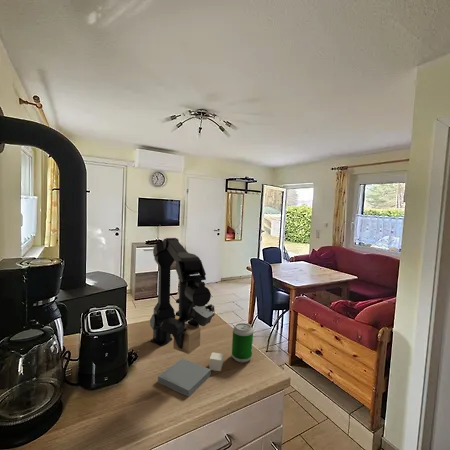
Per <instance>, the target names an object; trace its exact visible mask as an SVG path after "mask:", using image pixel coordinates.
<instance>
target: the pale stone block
mask: <svg viewBox="0 0 450 450" xmlns="http://www.w3.org/2000/svg"><path fill="white" fill-rule="evenodd" d="M208 364H209V368H208V369H211V371H215V372H221V371H222V368H223V365H224V354H223V353H220V352H219V353H218V352H211V355H210V357H209V363H208Z"/></svg>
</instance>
